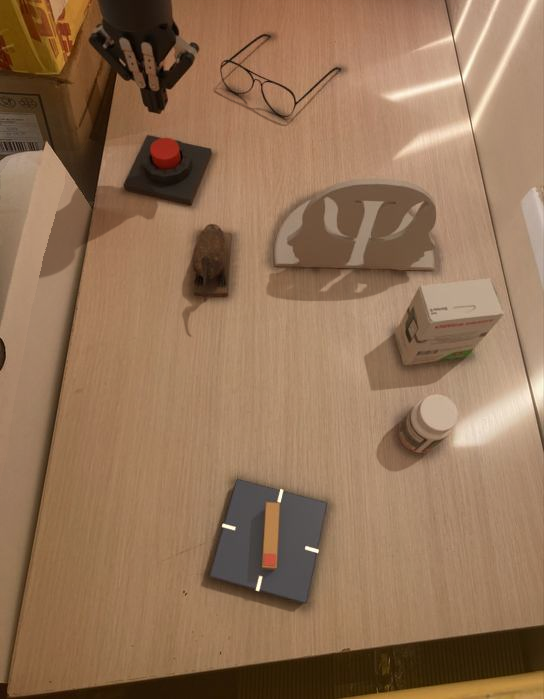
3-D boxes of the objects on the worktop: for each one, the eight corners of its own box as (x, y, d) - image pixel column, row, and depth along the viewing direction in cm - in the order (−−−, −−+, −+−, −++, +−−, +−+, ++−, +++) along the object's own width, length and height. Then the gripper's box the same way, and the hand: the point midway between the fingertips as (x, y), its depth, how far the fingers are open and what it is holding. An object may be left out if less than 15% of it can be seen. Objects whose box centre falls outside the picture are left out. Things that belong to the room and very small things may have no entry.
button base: (124, 190, 77) (120, 175, 75) (148, 140, 81) (144, 124, 79) (191, 205, 76) (189, 191, 74) (211, 154, 81) (210, 139, 78)
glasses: (218, 86, 87) (218, 56, 82) (268, 46, 94) (271, 16, 89) (293, 123, 84) (297, 94, 79) (339, 79, 91) (345, 50, 86)
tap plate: (210, 578, 56) (207, 577, 53) (236, 482, 60) (235, 477, 58) (304, 604, 55) (307, 605, 53) (325, 506, 60) (328, 501, 57)
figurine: (226, 325, 69) (223, 289, 61) (191, 324, 69) (183, 288, 61) (231, 235, 75) (228, 192, 67) (199, 234, 74) (192, 191, 67)
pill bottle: (438, 417, 64) (462, 393, 57) (437, 456, 62) (462, 436, 55) (398, 411, 65) (417, 387, 57) (396, 450, 63) (416, 429, 55)
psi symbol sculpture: (273, 267, 73) (278, 180, 57) (274, 190, 78) (279, 92, 63) (435, 272, 73) (482, 187, 58) (424, 195, 79) (465, 99, 63)
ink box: (457, 323, 70) (494, 274, 59) (468, 358, 68) (508, 314, 57) (393, 331, 69) (418, 283, 58) (402, 367, 67) (430, 323, 56)
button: (148, 166, 76) (146, 155, 74) (158, 146, 78) (155, 135, 76) (175, 172, 76) (173, 161, 74) (184, 151, 77) (182, 140, 75)
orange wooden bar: (265, 507, 56) (265, 501, 53) (278, 508, 56) (280, 502, 53) (261, 569, 54) (261, 567, 50) (275, 570, 54) (276, 568, 50)
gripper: (203, -46, 54) (215, 98, 70) (79, -70, 55) (118, 78, 71) (179, 0, 51) (197, 140, 67) (49, -26, 52) (97, 118, 68)
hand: (156, 108), depth 69 cm, fingers closed
